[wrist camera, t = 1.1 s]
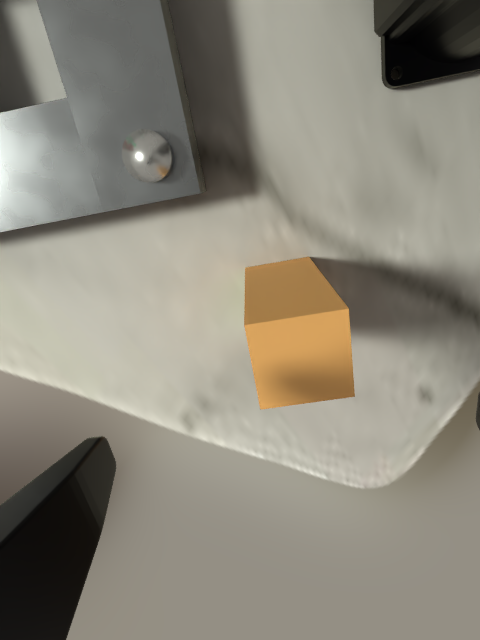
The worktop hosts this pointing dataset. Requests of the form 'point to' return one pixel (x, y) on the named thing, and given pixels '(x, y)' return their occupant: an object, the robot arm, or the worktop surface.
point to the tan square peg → (297, 335)
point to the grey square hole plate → (101, 118)
